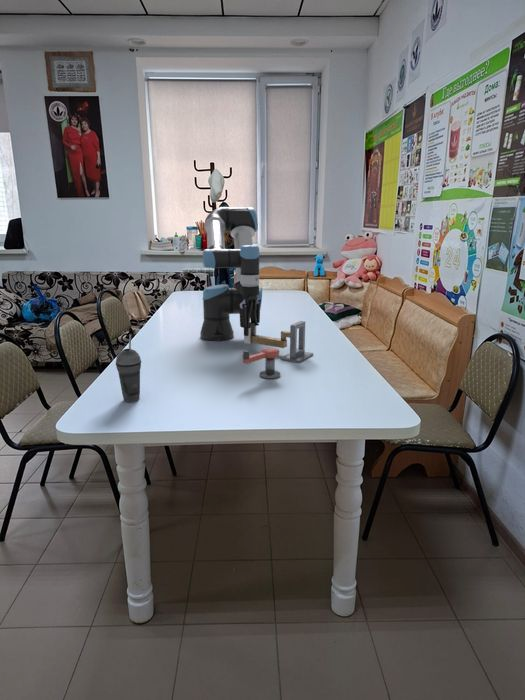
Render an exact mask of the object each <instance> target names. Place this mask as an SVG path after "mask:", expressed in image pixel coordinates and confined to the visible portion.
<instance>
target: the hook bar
mask: <svg viewBox="0 0 525 700" xmlns="http://www.w3.org/2000/svg"><path fill="white" fill-rule="evenodd" d="M249 328H251V343H250V344H256V345H262V346H269V347H272V348H275V347H276V348H281V349H285V348H286V347H288V339H287V338H289V339H290V331H287V330H284V331H283V330H281V331H280V338H279V337H271V336H266V335H259V334H256V335H255V323H254V322H251V321H250V324H249Z"/></svg>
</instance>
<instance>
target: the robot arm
mask: <svg viewBox="0 0 525 700" xmlns="http://www.w3.org/2000/svg"><path fill="white" fill-rule="evenodd" d="M258 227H259V222H258V215H257V211H256V210H255V208H254V207H252V206H221V207H217V208H216V209H213V210H212V211H210V213H208V215H207V216H206V218H205V220H204V230H205V233H206V241H207V242H206V243H207V244H206V245H207V246H206V247H207V248H206V249H203V250H202V264H203V268H208V269H226V268H227V269H229V268H230V269H231V268H234V269H235V282H234V283H233V286H232V287H230V286H229V284H215V285H210V286H207V287H205V288H204V289H203V291H202V304H203V305H202V306H203V309H202V311H203V322H202V325H201V329H200V332H199V333H200V334H199V335H200V338H201V339H202V340H205V341H226V340H227V341H228V340H230V339H232V338H234V337H235V336H234V335H235V333H234V330H233V325H232V324H231V320H230V315H236V314H237V315H239V326H240V327H241V328H243V343H244V344H248V345H250V344H252V343H251V328H249V324H250V322H254V323H255V335H257V326H260V321H261V309H262V308H261V307H262V300H263V287H260V256H261V254H260V253H261V252H260V247H259V246H258V245H256V244H255V245H253V237H254V236H255V234H256V233H257V232H258V230H259V228H258ZM225 233H230V236H231V237H232V238H233V240H234V241H233V242H234V243H233V244H234V248H233V249H232V248H226V246H225V245H226V244H225V243H226V242H225Z"/></svg>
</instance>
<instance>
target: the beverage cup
mask: <svg viewBox="0 0 525 700" xmlns="http://www.w3.org/2000/svg"><path fill="white" fill-rule="evenodd" d="M128 340H129V341H128V348H125V349H122V350H121V351H119V352H118V354H117V356H116V358H115V365H116V370H117V372H118V377H119V382H120V383H119V384H120V388H121V394H122V397H123V402H125V403H135V402H138V401H140V396H141V368H142V360H141V356H140V354H139V353H138V352H137V351H136V350H135V349H133V348H132V334H129V339H128Z"/></svg>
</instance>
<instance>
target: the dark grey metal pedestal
mask: <svg viewBox="0 0 525 700" xmlns="http://www.w3.org/2000/svg"><path fill="white" fill-rule="evenodd" d="M264 359H265V361H264V365H265V367H264V368H265V370H262V371H260V372H259V377H260V378H262V379H264V380H275V379H279V378H280V377H281V372H279V370H278V371H277V370H276V368H275V366H276V360H275V359H276V358H264Z"/></svg>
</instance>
